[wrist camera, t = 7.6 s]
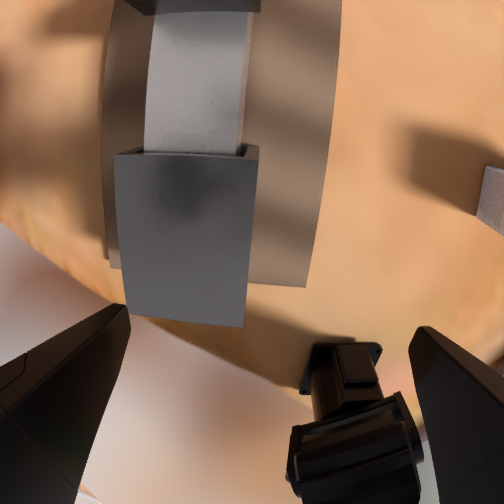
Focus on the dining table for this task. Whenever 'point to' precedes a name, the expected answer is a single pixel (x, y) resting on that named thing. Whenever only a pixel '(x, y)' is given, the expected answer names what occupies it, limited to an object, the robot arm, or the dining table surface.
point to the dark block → (197, 74)
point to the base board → (247, 124)
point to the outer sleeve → (186, 233)
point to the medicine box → (492, 199)
